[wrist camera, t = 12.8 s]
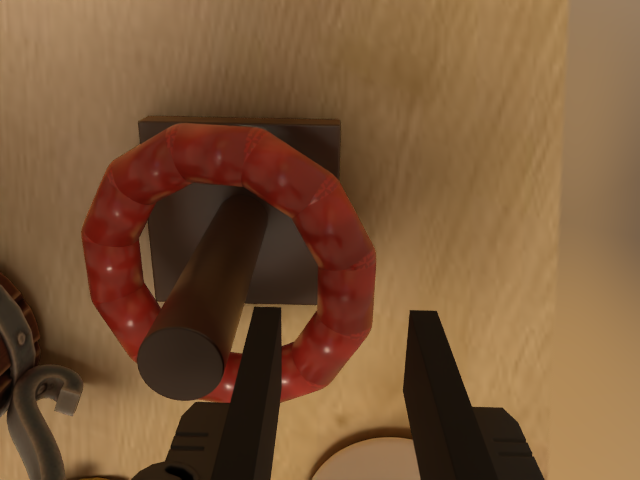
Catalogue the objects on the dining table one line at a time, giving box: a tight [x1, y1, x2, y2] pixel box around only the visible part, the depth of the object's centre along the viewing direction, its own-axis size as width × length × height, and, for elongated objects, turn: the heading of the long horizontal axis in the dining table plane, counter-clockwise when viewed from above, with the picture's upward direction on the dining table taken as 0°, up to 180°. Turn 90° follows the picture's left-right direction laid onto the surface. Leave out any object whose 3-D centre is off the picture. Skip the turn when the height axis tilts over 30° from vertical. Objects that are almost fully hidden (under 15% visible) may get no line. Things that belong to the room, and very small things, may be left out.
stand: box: [137, 116, 341, 401], centre depth 22 cm, size 9×9×14 cm
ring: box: [81, 123, 376, 403], centre depth 21 cm, size 11×11×2 cm
